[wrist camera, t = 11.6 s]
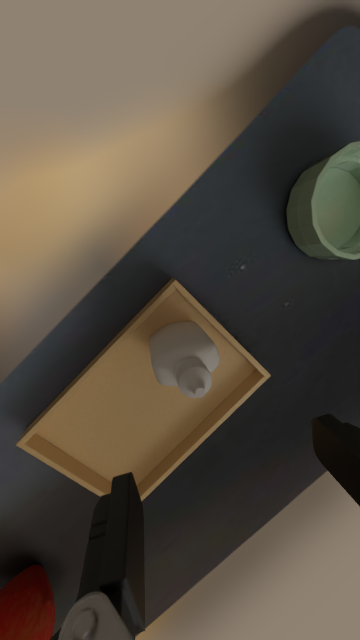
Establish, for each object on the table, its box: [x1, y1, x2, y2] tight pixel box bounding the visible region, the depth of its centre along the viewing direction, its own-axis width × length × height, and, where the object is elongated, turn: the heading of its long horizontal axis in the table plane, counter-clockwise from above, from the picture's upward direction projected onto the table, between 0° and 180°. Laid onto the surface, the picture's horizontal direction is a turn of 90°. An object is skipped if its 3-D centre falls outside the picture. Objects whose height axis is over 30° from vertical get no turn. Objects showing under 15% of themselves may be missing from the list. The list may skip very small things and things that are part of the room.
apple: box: [0, 564, 55, 640], centre depth 27 cm, size 9×8×11 cm
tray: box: [16, 278, 271, 501], centre depth 28 cm, size 23×15×3 cm, turn 135°
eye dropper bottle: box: [149, 321, 220, 398], centre depth 22 cm, size 4×6×12 cm
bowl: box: [286, 141, 360, 260], centre depth 26 cm, size 10×10×4 cm
